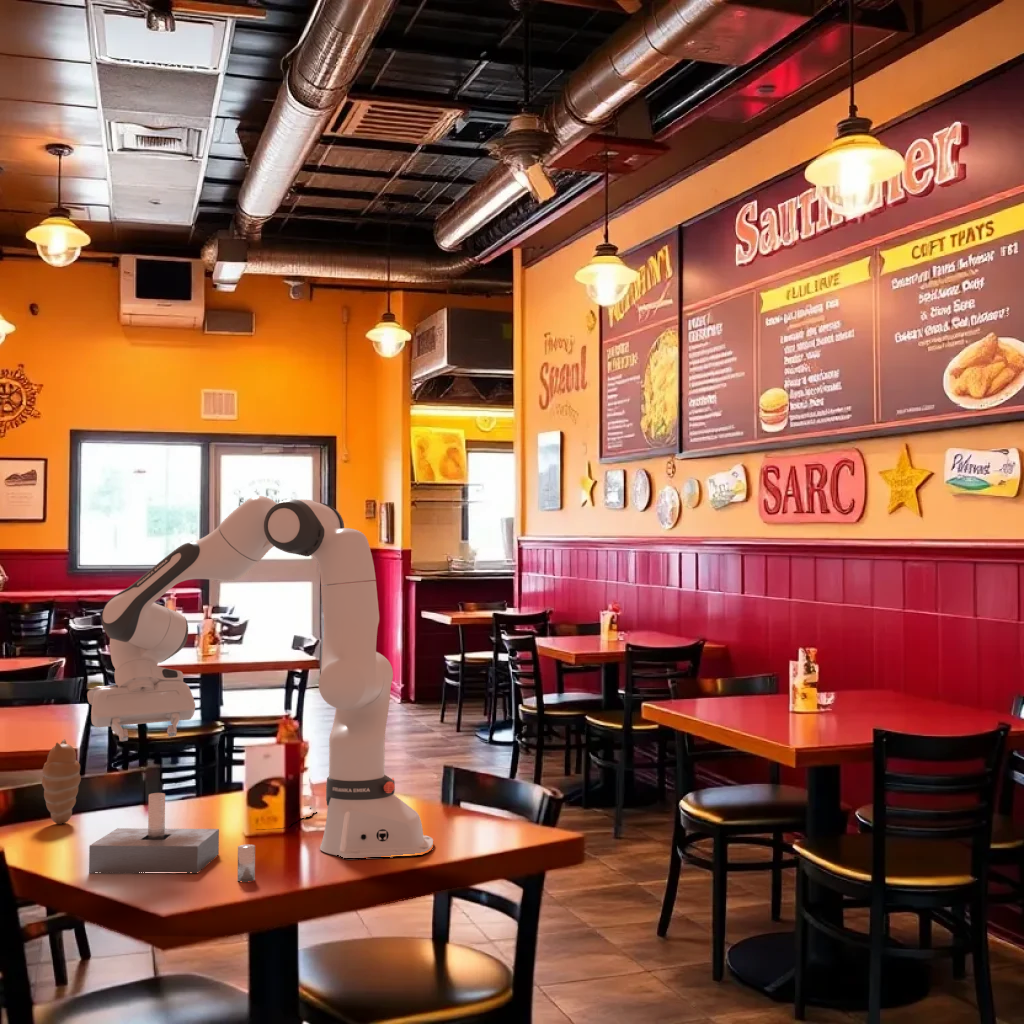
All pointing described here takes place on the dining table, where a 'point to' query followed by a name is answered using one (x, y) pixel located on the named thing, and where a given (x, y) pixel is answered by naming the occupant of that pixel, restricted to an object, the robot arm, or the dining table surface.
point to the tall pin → (156, 816)
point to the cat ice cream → (61, 781)
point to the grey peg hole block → (153, 851)
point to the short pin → (246, 863)
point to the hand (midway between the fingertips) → (148, 737)
